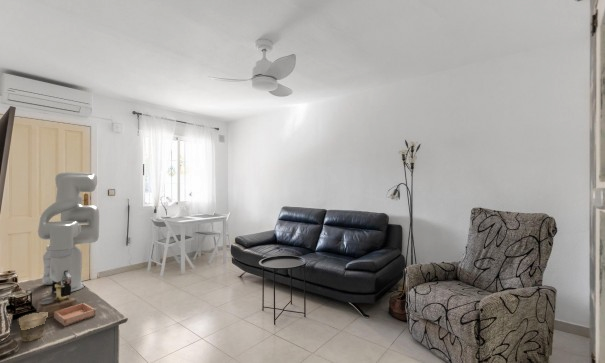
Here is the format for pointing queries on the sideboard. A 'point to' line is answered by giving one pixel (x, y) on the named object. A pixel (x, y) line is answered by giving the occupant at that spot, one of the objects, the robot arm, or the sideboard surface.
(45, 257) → the plastic bottle
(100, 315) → the sideboard surface
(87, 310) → the tray
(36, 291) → the sideboard surface
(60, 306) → the block
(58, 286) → the pin
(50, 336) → the sideboard surface
